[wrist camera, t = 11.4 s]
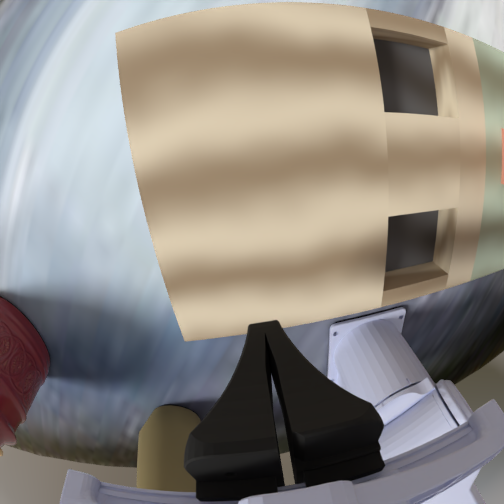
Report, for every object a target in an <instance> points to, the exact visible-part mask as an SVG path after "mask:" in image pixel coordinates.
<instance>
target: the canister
mask: <svg viewBox="0 0 504 504" xmlns="http://www.w3.org/2000/svg"><path fill="white" fill-rule="evenodd" d="M49 367H50V357H49V353H48V350H47V348H46V346H45V344H44V342H43V340H42V338H41V337H40V335H39V333H38V332H37V330H36V329H35V328H34V326H33V325H32V324H31V323H30V321H29V320H28V319H27V318H26V317H25V316H24V315H23V314H22V313H21V312H20V311H19V310H18V309H17V308H16V307H15V306H13V305H12V304H11V303H9V302H8V301H7V300H5V299H3V298H1V297H0V456H3V451H2V449H1V447H2V446H3V445H15V444H16V443H17V439H16V436H15V431H16V429H17V428H18V426H19V424H22V423H24V422H25V421H26V415H27V413H28V411H29V409H30V407H31V404H32V402H33V400H34V398H35V396H36V394H37V392H38V390H39V388H40V387H41V386H42V385H43V384H44V382H45V380H46V378H47V375H48V370H49Z"/></svg>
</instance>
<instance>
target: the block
mask: <svg viewBox="0 0 504 504" xmlns="http://www.w3.org/2000/svg"><path fill="white" fill-rule="evenodd" d="M501 129H502V175H501V184H504V129H503V128H501Z"/></svg>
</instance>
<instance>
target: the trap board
mask: <svg viewBox="0 0 504 504" xmlns="http://www.w3.org/2000/svg"><path fill="white" fill-rule="evenodd" d="M115 34H116V48H117V59H118V69H119V78H120V86H121V93H122V101H123V107H124V114H125V120H126V126H127V132H128V138H129V143H130V148H131V154H132V159H133V164H134V168H135V173H136V178H137V182H138V187H139V191H140V195H141V200H142V204H143V208H144V212H145V216H146V220H147V223H148V227H149V231H150V235H151V238H152V242H153V245H154V249H155V252H156V256H157V259H158V263H159V266H160V269H161V273H162V276H163V279H164V282H165V285H166V288H167V292H168V295H169V298H170V301H171V304H172V307H173V310H174V312H175V315H176V318H177V321H178V324H179V327H180V329H181V332H182V335H183V338H184V340H185V341H194V340H203V339H211V338H219V337H227V336H234V335H241V334H247V331H248V326H249V324H254V323H260V322H266V321H272V320H278V321H279V322H280V325H281V327H282V328H285V327H291V326H296V325H302V324H307V323H312V322H317V321H322V320H327V319H332V318H336V317H341V316H346V315H350V314H354V313H359V312H363V311H367V310H371V309H375V308H379V307H383V306H387V305H391V304H395V303H399V302H402V301H406V300H410V299H413V298H417V297H420V296H424V295H427V294H431V293H434V292H437V291H441V290H444V289H447V288H450V287H453V286H456V285H459V284H463V283H466V282H469V281H471V280H474V279H477V278H480V277H483V276H486V275H489V274H491V273H494V272H497V271H499V270H502V269H504V184H501V175H502V129H501V128H503V129H504V52H502V51H500V50H498V49H496V48H494V47H492V46H490V45H487V44H485V43H483V42H481V41H478V40H476V39H474V38H471V37H469V36H466V35H464V34H461V33H459V32H456V31H453V30H451V29H448V28H445V27H442V26H439V25H436V24H432V23H429V22H426V21H422V20H419V19H415V18H411V17H407V16H403V15H399V14H394V13H390V12H385V11H379V10H374V9H368V8H361V7H354V6H346V5H336V4H324V3H302V2H278V3H256V4H243V5H233V6H225V7H218V8H211V9H205V10H199V11H194V12H189V13H184V14H179V15H175V16H171V17H166V18H163V19H159V20H155V21H151V22H148V23H144V24H141V25H138V26H135V27H132V28H129V29H126V30H123V31H120V32H117V33H115Z"/></svg>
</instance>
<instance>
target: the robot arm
mask: <svg viewBox="0 0 504 504" xmlns="http://www.w3.org/2000/svg"><path fill="white" fill-rule="evenodd" d="M405 313H406V310H405V308H404V307H400V308H396V309H392V310H389V311H385V312H381V313H377V314H373V315H369V316H365V317H361V318H357V319H352V320H348V321H343V322H339V323H335V324H333V325H331V327H330V338H329V360H328V377H326V376H325V375H323V374H322V373H321V372H320V371H319V370H317V369H316V368H315V367H314V366H313V365H312V364H311V363H310V362H309V361H308V360H307V359H306V358H305V357H304V356H303V355H302V354H301V353H300V351H299V350H298V349H297V348H296V347H295V345H294V344H293V343H292V342H291V340H290V339H289V338H288V336H287V335H286V333H285V332H284V330H283V328H282V327H281V325H280V322H279V321H278V320H272V321H266V322H260V323H254V324H249V326H248V331H247V337H246V341H245V345H244V348H243V351H242V354H241V357H240V360H239V362H238V365H237V367H236V369H235V372H234V374H233V376H232V378H231V380H230V382H229V384H228V385H227V387H226V389H225V390H224V392H223V394H222V395H221V397H220V398H219V400H218V401H217V403H216V404H215V405H214V407H213V408H212V409H211V410H210V412H209V413H208V414H207V416H206V417H205V418H204V419H203V420H202V421H201V422H200V423H199V424H198V425H197V426H196V427H195V428H194V429H193V430H192V431H191V432H190V434H189V437H188V440H187V443H186V447H185V453H184V468H185V470H186V471H187V472H188V473H189V474H190V475H191V476H192V477H193V478H194V479H195V480H196V492H174V491H160V490H150V489H141V488H133V487H126V486H120V485H114V484H109V483H104V482H100V481H99V480H98V479H97V478H96V477H94V476H92V475H90V474H87V473H83V472H79V471H75V470H71V469H69V470H68V472H67V475H66V479H65V484H64V488H63V491H62V495H61V500H60V504H486V503H485V502H484V500H483V498H482V496H481V495H480V493H479V491H478V489H477V488H476V486H475V484H474V480H475V479H476V477H477V475H478V473H479V471H480V469H481V467H482V466H484V465H485V464H487V463H488V462H489V461H491V460H492V459H493V458H494V457H495V456H496V455H497V454H498V453H500V452H501V451H502V449H504V413H503V412H502V410H501V409H500V407H499V406H498V404H497V403H496V401H495V400H494V399H492V400H491V401H489V402H487V403H486V404H484V405H483V406H481V407H480V408H478V409H477V410H476V411H475V412H472V410H471V409H470V407H469V405H468V404H467V402H466V401H465V399H464V398H463V396H462V395H461V393H460V392H459V391H458V389H457V388H456V387H455V385H454V384H453V383H452V382H451V381H450V380H445V381H444V380H440V381H439V382H438V383H437V384H435V383H434V382H433V380H432V379H431V377H430V376H429V374H428V373H427V371H426V370H425V368H424V367H423V365H422V364H421V362H420V361H419V359H418V358H417V356H416V355H415V353H414V352H413V350H412V349H411V348H410V346H409V345H408V343H407V342H406V340H405V339H404V338H403V336H402V335H401V332H402V328H403V323H404V318H405ZM334 332H336V333H334ZM271 374H272V377H273V381H274V384H275V388H276V391H277V395H278V398H279V402H280V405H281V409H282V413H283V417H284V422H285V428H286V434H287V439H288V445H289V451H290V456H291V462H292V468H293V474H294V480H295V484H294V485H289V486H285V484H284V478H283V471H282V466H281V459H280V453H279V447H278V441H277V434H276V428H275V422H274V414H273V398H272V380H271Z"/></svg>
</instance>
